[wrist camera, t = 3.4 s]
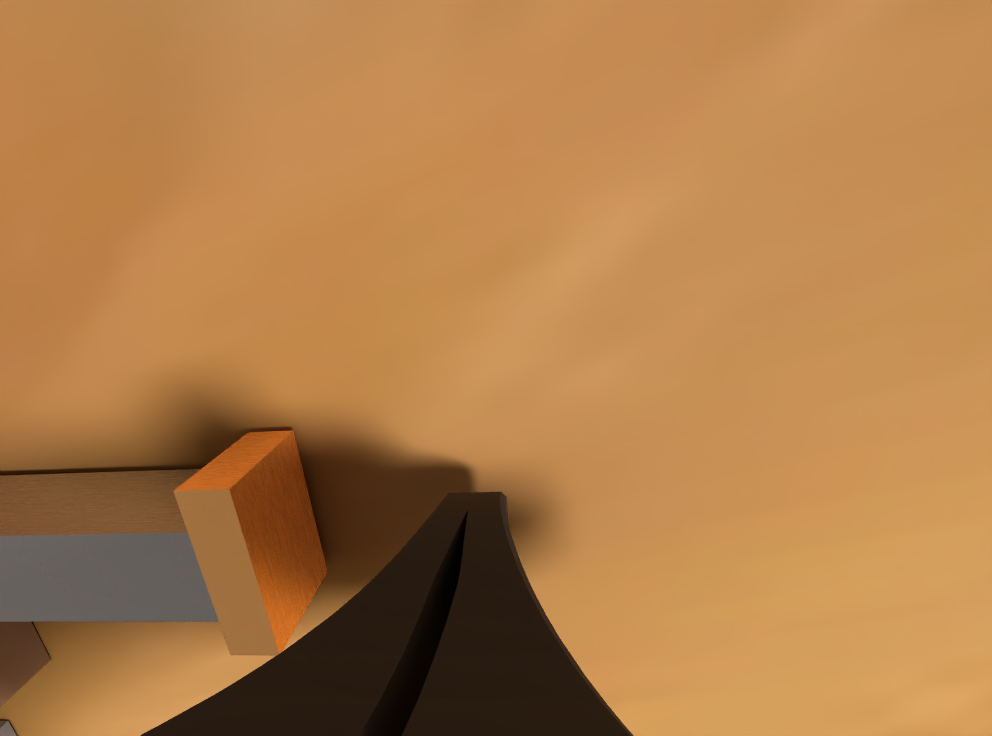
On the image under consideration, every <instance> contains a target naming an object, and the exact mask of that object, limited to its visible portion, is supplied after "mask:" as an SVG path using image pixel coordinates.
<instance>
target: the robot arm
mask: <svg viewBox="0 0 992 736" xmlns="http://www.w3.org/2000/svg"><path fill="white" fill-rule="evenodd" d="M141 736H633V735H632V734H631V732H630V731H629V730H628V729H627V728H626V727H625V725H624V724H623V723H622V722H621V721H620V719H619V718H618V717H617V716H616V715H615V713H614V712H613V711H612V710H611V708H610V707H609V706H608V705H607V704H606V702H605V701H604V700H603V698H602V697H601V696H600V694H599V693H598V692H597V690H596V689H595V688H594V687H593V685H592V684H591V683H590V681H589V680H588V679H587V677H586V676H585V675H584V673H583V672H582V670H581V669H580V667H579V666H578V664H577V663H576V661H575V660H574V658H573V657H572V655H571V654H570V652H569V651H568V649H567V648H566V647H565V645H564V644H563V642H562V641H561V639H560V638H559V636H558V634H557V633H556V631H555V629H554V628H553V626H552V624H551V623H550V621H549V619H548V617H547V616H546V614H545V612H544V610H543V608H542V607H541V605H540V603H539V601H538V599H537V597H536V595H535V593H534V591H533V589H532V587H531V585H530V583H529V580H528V578H527V576H526V574H525V571H524V569H523V567H522V564H521V562H520V559H519V557H518V554H517V551H516V548H515V545H514V542H513V539H512V536H511V533H510V529H509V525H508V513H507V501H506V496H505V495H504V494H503V493H502V492H478V493H449V494H448V495H447V496H446V497H445V499H444V500H443V501H442V502H441V503H440V505H439V506H438V507H437V508H436V510H435V511H434V512H433V513H432V515H431V516H430V517H429V518H428V519H427V521H426V522H425V523H424V524H423V525H422V527H421V528H420V529H419V530H418V531H417V532H416V534H415V535H414V536H413V537H412V538H411V539H410V540H409V542H408V543H407V544H406V545H405V546H404V547H403V548H402V550H401V551H400V552H399V553H398V554H397V555H396V556H395V557H394V558H393V559H392V560H391V561H390V562H389V563H388V564H387V565H386V566H385V567H384V568H383V569H382V570H381V571H380V572H379V573H378V574H377V575H376V576H375V578H374V579H372V580H371V581H370V582H369V583H368V584H367V585H366V586H365V587H364V588H363V589H362V590H361V591H360V592H359V593H358V594H356V595H355V596H354V597H353V598H352V599H351V600H349V601H348V602H347V603H346V604H345V605H343V606H342V607H341V608H340V609H339V610H338V611H336V612H335V613H334V614H333V615H331V616H330V617H329V618H328V619H326V620H325V621H324V622H322V623H321V624H319V625H318V626H317V627H315V628H314V629H313V630H311V631H310V632H309V633H307V634H306V635H305V636H303V637H302V638H301V639H299V640H298V641H297V642H295V643H294V644H293V645H291V646H290V647H289V648H287V649H286V650H284V651H283V652H281V653H280V654H278V655H277V656H275V657H274V658H272V659H271V660H269V661H268V662H266V663H265V664H263V665H262V666H260V667H259V668H257V669H256V670H254V671H252V672H251V673H249V674H248V675H246V676H244V677H243V678H241V679H240V680H238V681H236V682H235V683H233V684H232V685H230V686H228V687H227V688H225V689H223V690H222V691H220V692H218V693H217V694H215V695H213V696H211V697H210V698H208V699H206V700H204V701H202V702H201V703H199V704H197V705H195V706H193V707H191V708H190V709H188V710H186V711H184V712H182V713H181V714H179V715H177V716H175V717H173V718H172V719H170V720H168V721H166V722H164V723H163V724H161V725H159V726H157V727H155V728H153V729H151V730H149V731H148V732H146V733H144V734H142V735H141Z"/></svg>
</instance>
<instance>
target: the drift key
mask: <svg viewBox="0 0 992 736" xmlns="http://www.w3.org/2000/svg"><path fill="white" fill-rule="evenodd" d="M326 573H327V568H326V564H325V559H324V555H323V551H322V547H321V543H320V539H319V535H318V531H317V526H316V522H315V518H314V514H313V510H312V506H311V502H310V498H309V494H308V489H307V485H306V481H305V477H304V473H303V469H302V465H301V461H300V457H299V452H298V448H297V444H296V440H295V436H294V432H293V431H269V432H248V433H247V434H245V435H244V436H243V437H242V438H240V439H239V440H238V441H237V442H235V443H234V444H233V445H231V446H230V447H229V448H228V449H226V450H225V451H224V452H222V453H221V454H220V455H219V456H217V457H216V458H215V459H214V460H212V461H211V462H210V463H208V464H207V465H206V466H205V467H203V468H202V469H183V470H154V471H124V472H95V473H66V474H36V475H7V476H0V622H219V623H220V626H221V629H222V632H223V635H224V638H225V640H226V643H227V646H228V649H229V652H230V655H278V654H280V653H281V652H282V651H283V649H284V647H285V646H286V644H287V642H288V640H289V639H290V637H291V635H292V633H293V632H294V630H295V628H296V626H297V625H298V623H299V621H300V619H301V617H302V616H303V614H304V612H305V610H306V609H307V607H308V605H309V603H310V602H311V600H312V598H313V596H314V595H315V593H316V591H317V589H318V588H319V586H320V584H321V582H322V581H323V579H324V577H325V575H326Z"/></svg>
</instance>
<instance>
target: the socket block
mask: <svg viewBox="0 0 992 736" xmlns="http://www.w3.org/2000/svg"><path fill="white" fill-rule="evenodd" d="M50 660H51V659H50V657H49V655H48V653H47V651H46V649H45V648H44V646H43V644H42V642H41V640H40V638H39V636H38V634H37V632H36V630H35V628H34V626H33V624H32V622H0V706H2V705H3V704H4V703H5V702H6V701H7V700H8V699H9V698H10V697H11V696H12V695H13V694H14V693H16V692H17V691H18V690H19V689H20V688H21V687H22V686H23V685H24V684H25V683H26V682H27V681H28V680H29V679H31V678H32V677H33V676H34V675H35V674H36V673H37V672H38V671H39V670H40V669H41V668H42V667H43V666H44V665H46V664H47V663H48V662H49V661H50Z"/></svg>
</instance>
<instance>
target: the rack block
mask: <svg viewBox="0 0 992 736" xmlns="http://www.w3.org/2000/svg"><path fill="white" fill-rule="evenodd" d="M0 736H17V735H16V734H15V732H14V730H13V728H12V727H11V725H10V723H9V722H8V721H0Z"/></svg>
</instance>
